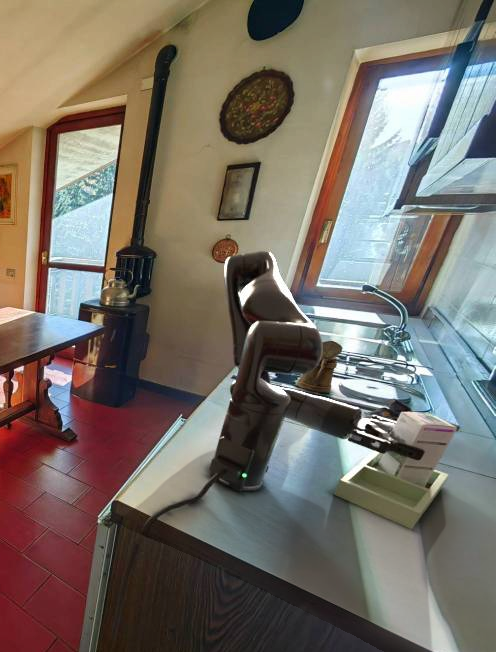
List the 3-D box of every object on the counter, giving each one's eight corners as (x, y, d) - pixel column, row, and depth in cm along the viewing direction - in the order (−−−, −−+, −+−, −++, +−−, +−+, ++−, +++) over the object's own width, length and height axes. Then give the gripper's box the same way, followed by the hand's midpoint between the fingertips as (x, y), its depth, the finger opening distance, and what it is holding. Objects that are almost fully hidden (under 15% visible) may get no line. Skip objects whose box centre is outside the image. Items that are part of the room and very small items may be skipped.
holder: (411, 529, 69) (420, 513, 67) (333, 494, 77) (339, 479, 76) (441, 488, 79) (449, 474, 78) (369, 462, 88) (375, 448, 87)
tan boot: (293, 391, 125) (313, 337, 118) (297, 380, 134) (315, 329, 127) (329, 399, 119) (351, 343, 112) (330, 387, 129) (351, 334, 122)
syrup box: (424, 490, 78) (461, 427, 72) (390, 486, 79) (423, 423, 73) (402, 473, 83) (434, 413, 77) (370, 470, 84) (400, 410, 78)
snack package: (366, 406, 115) (360, 417, 108) (379, 388, 112) (375, 398, 105) (419, 427, 108) (417, 440, 101) (436, 408, 105) (435, 420, 98)
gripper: (321, 408, 83) (428, 443, 71) (345, 394, 91) (446, 423, 78) (308, 438, 86) (409, 477, 74) (333, 422, 94) (429, 455, 81)
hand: (428, 449), depth 76 cm, fingers closed on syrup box, 8 cm apart
